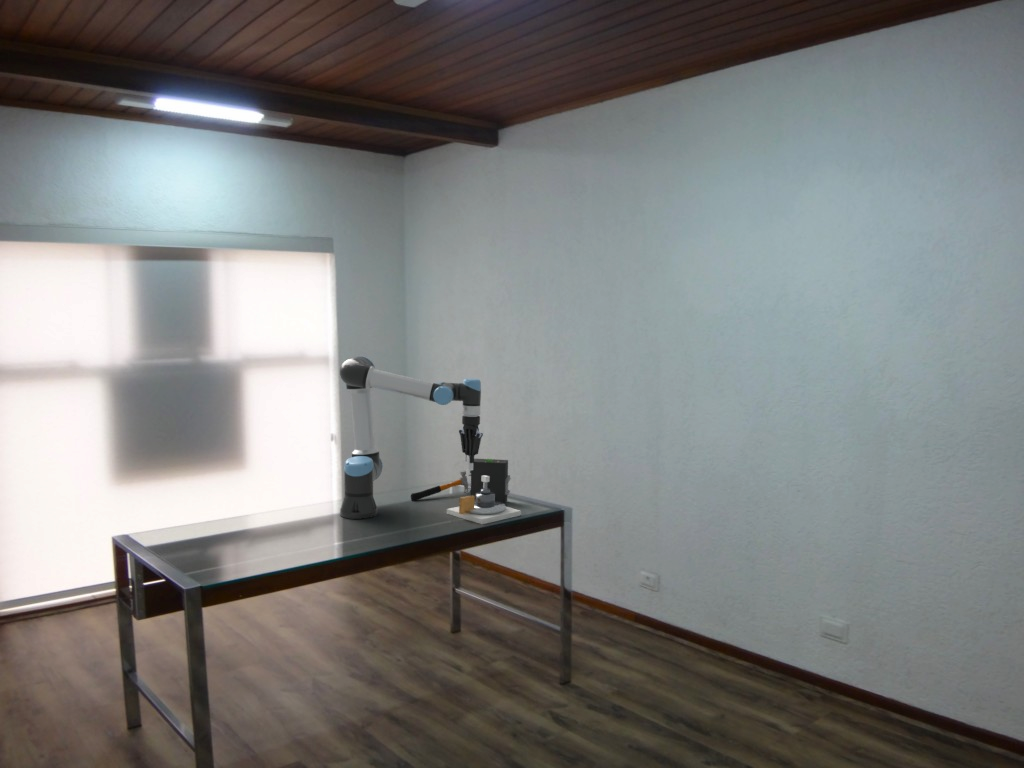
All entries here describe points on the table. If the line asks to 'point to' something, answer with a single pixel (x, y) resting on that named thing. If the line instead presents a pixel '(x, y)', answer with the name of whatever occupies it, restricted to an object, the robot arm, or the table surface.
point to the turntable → (469, 506)
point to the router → (491, 478)
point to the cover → (485, 498)
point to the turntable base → (485, 518)
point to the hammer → (442, 488)
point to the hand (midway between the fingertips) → (469, 470)
